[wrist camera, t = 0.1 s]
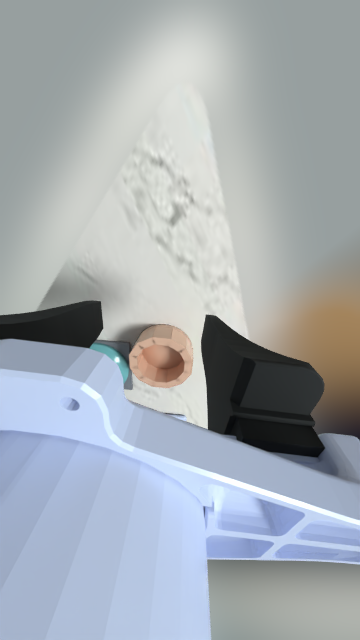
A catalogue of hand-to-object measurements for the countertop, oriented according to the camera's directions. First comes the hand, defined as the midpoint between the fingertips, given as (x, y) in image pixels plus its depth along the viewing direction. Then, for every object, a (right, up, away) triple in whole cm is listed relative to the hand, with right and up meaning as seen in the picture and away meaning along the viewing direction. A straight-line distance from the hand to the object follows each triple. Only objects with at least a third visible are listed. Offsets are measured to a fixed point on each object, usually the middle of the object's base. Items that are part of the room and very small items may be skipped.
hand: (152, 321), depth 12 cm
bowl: (0, -4, +13) cm, 14 cm away
